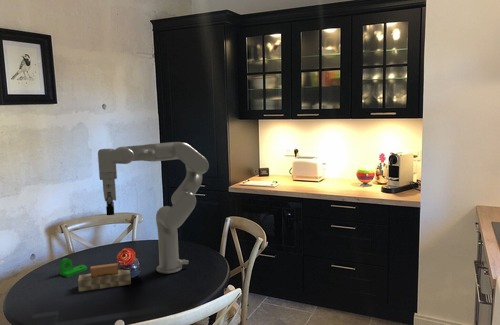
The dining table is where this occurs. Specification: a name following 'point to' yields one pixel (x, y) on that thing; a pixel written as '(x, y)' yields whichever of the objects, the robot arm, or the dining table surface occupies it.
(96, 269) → the brown piece
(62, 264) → the mechanical part
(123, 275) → the rail
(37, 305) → the dining table surface
